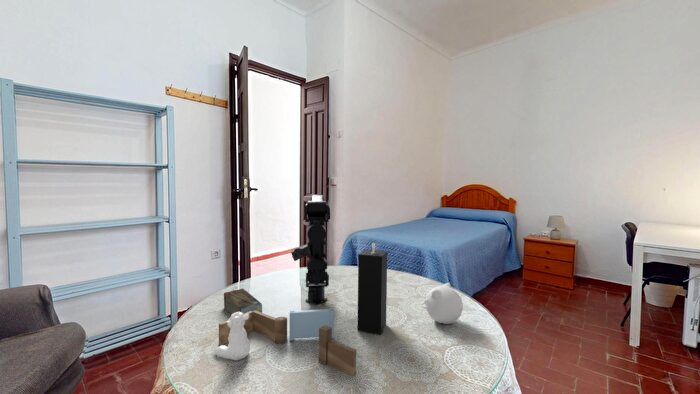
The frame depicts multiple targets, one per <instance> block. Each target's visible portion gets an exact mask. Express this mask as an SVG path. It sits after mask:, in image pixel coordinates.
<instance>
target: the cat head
mask: <svg viewBox="0 0 700 394" xmlns="http://www.w3.org/2000/svg"><path fill="white" fill-rule="evenodd" d="M423 305H424V308H423V309H422V310H421V311H420V313H422V312H423V311H424V310H425V309H426V312H427V314H428V315H429V317H430V318H432V320H434V321H435V322H437V323H439V324H442V323H443V325H449V324H452V323H454V322H456V321H458V320H459V319H460V317H461V316H462V313H463V311H464V304H463V300H462V298H461V295H460V294H459V293H458V292H457V291H456V290H455V289H454V288H452V287H451V283H450V282H447V283H444V284H442V285H438V286H435V287H433V288H432V289H430V291H428V293H427V294H426V296H425V301H424V302H422V304H421V306H423Z"/></svg>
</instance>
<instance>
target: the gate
mask: <svg viewBox="0 0 700 394" xmlns="http://www.w3.org/2000/svg"><path fill="white" fill-rule="evenodd" d="M288 321H289V322H288V323H289V324H288V325H289V328H288V329H289V336H288V337H289V339H288V340H289V341H295V339H309V338H311V339H312V338H313V339H314V338H319V328H320V327H322V326H324V325H327V326H330V327H332V339H335V308H328V309H327V308H326V309H325V308H324V309H305V310H301V309H300V310H294V309H293V310H289V319H288Z"/></svg>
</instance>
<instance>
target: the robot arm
mask: <svg viewBox="0 0 700 394" xmlns="http://www.w3.org/2000/svg"><path fill="white" fill-rule="evenodd" d="M304 209H305V211H304V214H305V215H304V222H305V223H308V228H307V232H306V233H307V234H306V235H307V236H306V237H307V239H308V240H307V243H306V244H304V245H301V246H298V247H295V248H293V249H291V251H290V253H291V258H292V259H293V262H297V261H298V260H300V259H303V258H305V257H306V258H307V259H308V260H307V262H306V264H307V265H306V268H307V269H306V270H307V271H306V272H305V288H308V290H307V298H306V299H305V302H307V303H311V304H313V305H320V304H322V303H324V302H326V301H328V298H327V297H325V289H326V288H327V287H329V285H330V275H329V273H328V271H326V270H327V269H328V261H327V259H326V245H327V244H326V236H327V231H326V223H329V220H331V206H330V205H329V204H328V202H327V201H326V200H325V199H324V195H322V194H312V195H310V199H309V200H308V201H307V203H306V204H305V208H304Z"/></svg>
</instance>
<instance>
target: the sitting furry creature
mask: <svg viewBox="0 0 700 394" xmlns="http://www.w3.org/2000/svg"><path fill="white" fill-rule="evenodd" d="M248 318H249V314H246V315H243V313H242V312H236V313H234V314H232V315H231V314H230V317H229V318H228V319H227V320H228V321H227V320H226V321H227V323H228V324H227V325H228V326H229V328H231V330H230V334H229V337H228V340H229V342H228V344H227V345H228V346H226V345H220V344H219V346H217V347H215V348H214V355H216V356H217V358H221V359H222V358H223V359H227V360H231V361H240V360H243V359H245V358H247V356H248V355H249V354H250V350H251V347H250V346H251V343H250V340H249V338H248V333H246V330H245V329H244V327H243V326H244V324H245V320H248Z"/></svg>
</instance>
